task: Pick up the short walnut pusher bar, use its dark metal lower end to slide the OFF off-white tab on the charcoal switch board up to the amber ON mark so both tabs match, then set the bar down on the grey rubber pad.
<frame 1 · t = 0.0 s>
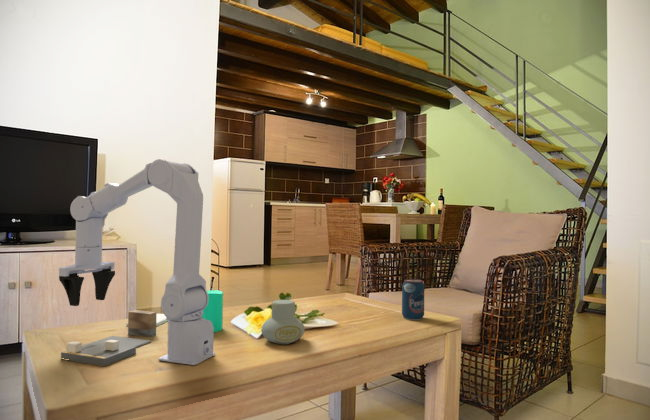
hand: (87, 302, 107), 10 cm above the table, tool pointing down, fingers open, 7 cm apart
air freshener: (282, 341, 112), on the table
tab b: (111, 345, 98), point 3 cm above the table, slide at 0.0 cm
switch board: (99, 356, 98), on the table
tab a: (74, 346, 96), point 3 cm above the table, slide at 4.0 cm
soda can: (412, 318, 139), on the table
external hard drive: (151, 324, 130), on the table
pusher bar: (142, 334, 116), on the table
tool pad: (122, 342, 108), on the table
candle: (211, 330, 122), on the table
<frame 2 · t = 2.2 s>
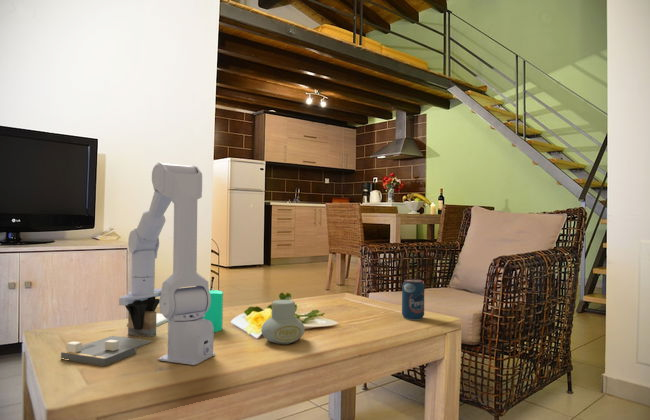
hand: (142, 327, 116), 2 cm above the table, tool pointing down, fingers closed on pusher bar, 2 cm apart
pusher bar: (142, 334, 116), on the table, touching gripper
everything else where it was.
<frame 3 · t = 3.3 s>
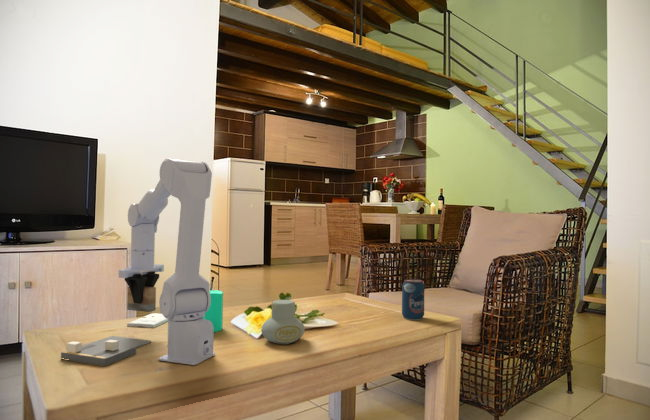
hand: (141, 302, 116), 9 cm above the table, tool pointing down, fingers closed on pusher bar, 2 cm apart
pusher bar: (141, 310, 116), point 7 cm above the table, touching gripper
everything else where it was.
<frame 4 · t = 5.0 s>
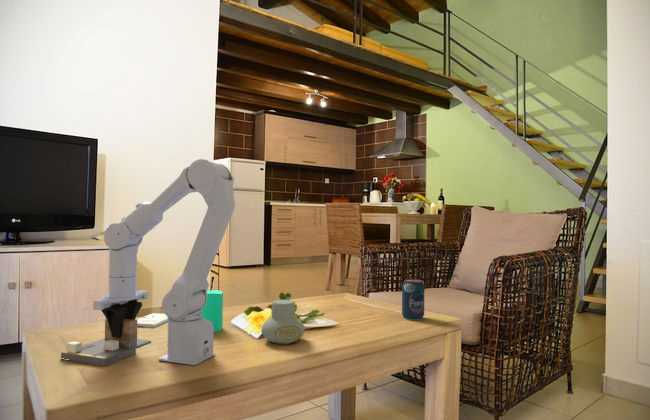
hand: (121, 335, 101), 4 cm above the table, tool pointing down, fingers closed on pusher bar, 2 cm apart
pusher bar: (120, 345, 101), point 2 cm above the table, touching gripper
everything else where it was.
when the fingers open (4 cm above the table, at t = 5.1 s): pusher bar moves 1 cm and tips over, resting on switch board, tab b.
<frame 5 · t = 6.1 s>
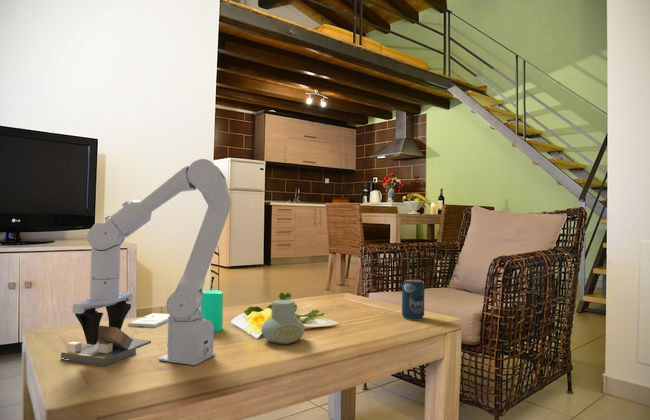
hand: (103, 340, 96), 4 cm above the table, tool pointing down, fingers open, 6 cm apart
tab b: (105, 347, 96), point 2 cm above the table, slide at 1.9 cm, touching pusher bar
pusher bar: (118, 342, 100), point 2 cm above the table, tilted 51°, touching gripper, switch board, tab b
everything else where it was.
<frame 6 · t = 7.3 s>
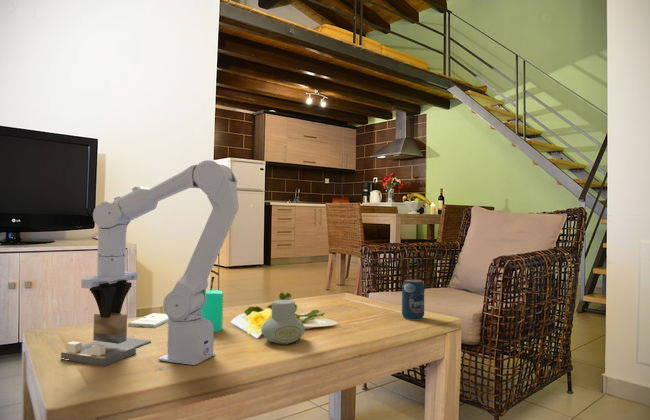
hand: (110, 315, 99), 9 cm above the table, tool pointing down, fingers closed on pusher bar, 2 cm apart
tab b: (98, 349, 94), point 2 cm above the table, slide at 3.8 cm
pusher bar: (109, 340, 99), point 3 cm above the table, touching gripper
everything else where it was.
when the fingers open (3 cm above the table, at t = 9.1 s): pusher bar stays where it is, resting on tool pad.
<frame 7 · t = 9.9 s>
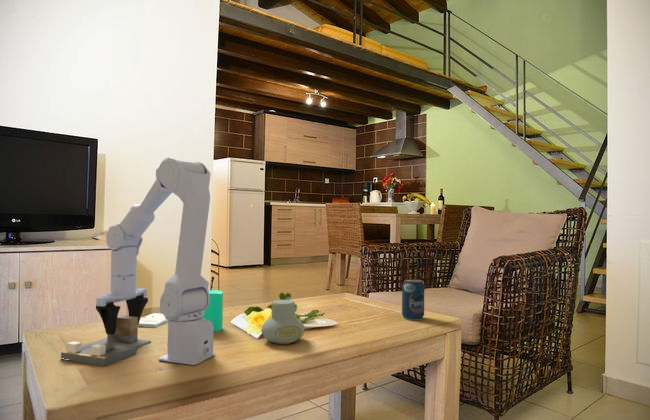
hand: (122, 330, 108), 3 cm above the table, tool pointing down, fingers open, 7 cm apart
pusher bar: (122, 341, 108), resting on tool pad
everything else where it was.
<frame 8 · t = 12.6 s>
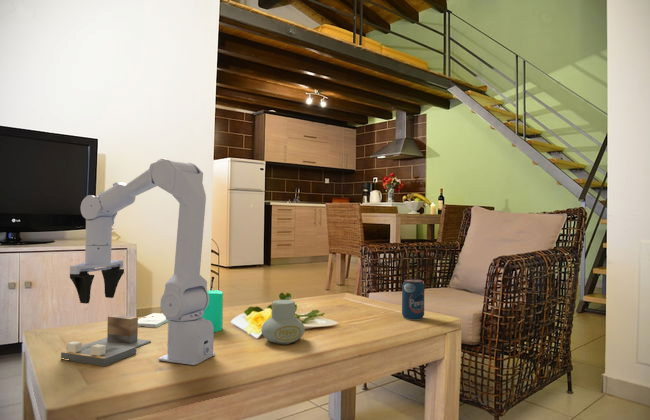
hand: (97, 300, 108), 10 cm above the table, tool pointing down, fingers open, 7 cm apart
nothing on the table moved.
at the end: tab b slide at 3.8 cm; tab a slide at 4.0 cm; pusher bar inside the target area on the tool pad (0.0 cm from its centre), point 0.4 cm above the tool pad's base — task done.
